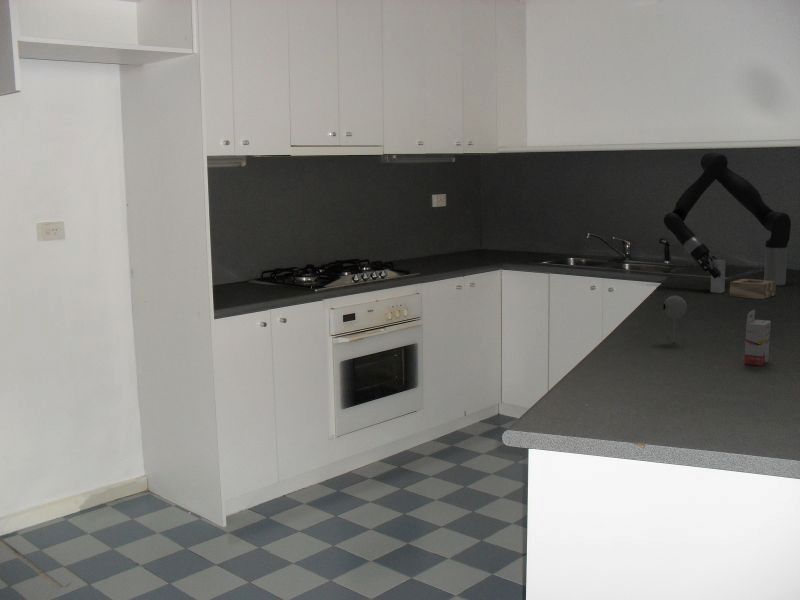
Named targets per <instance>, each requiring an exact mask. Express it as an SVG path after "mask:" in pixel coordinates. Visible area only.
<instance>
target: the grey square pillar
mask: <svg viewBox="0 0 800 600" xmlns="http://www.w3.org/2000/svg"><path fill="white" fill-rule="evenodd" d="M712 268H713V269H714V270H715V271H716V273H717V274H718V275H719V276H718V277H717V278H713V276H712V275H711V274H710V293H712V294H713V293H716V294H721V293H725V285H726V282H725V281H726V275H725V272H726V260H725V259H717V260H712Z"/></svg>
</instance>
